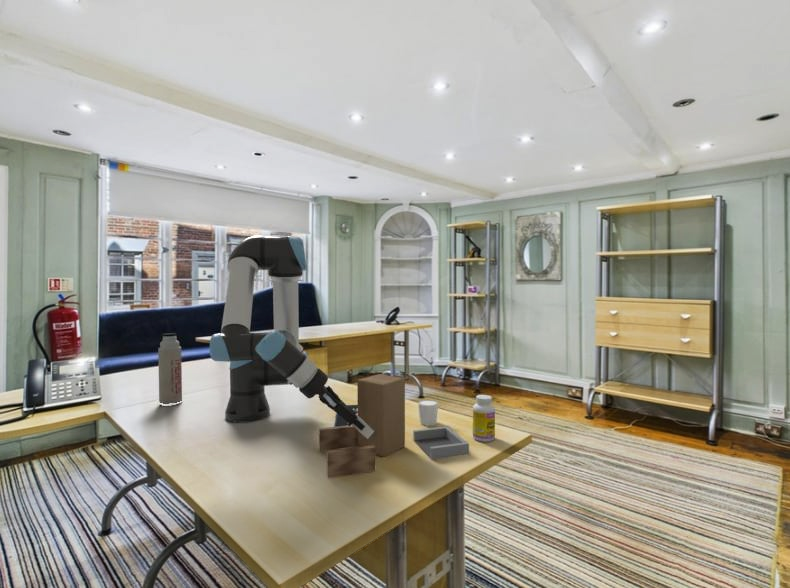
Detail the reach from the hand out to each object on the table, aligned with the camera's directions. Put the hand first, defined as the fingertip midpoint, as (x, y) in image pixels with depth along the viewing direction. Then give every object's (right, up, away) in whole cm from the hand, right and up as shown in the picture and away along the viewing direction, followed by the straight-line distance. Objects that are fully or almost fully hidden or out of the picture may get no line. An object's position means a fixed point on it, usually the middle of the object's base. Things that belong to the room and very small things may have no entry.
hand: (370, 434), depth 112 cm
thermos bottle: (-82, -5, +50) cm, 97 cm away
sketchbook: (-3, -6, +31) cm, 32 cm away
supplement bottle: (+34, -6, +13) cm, 37 cm away
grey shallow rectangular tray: (+19, -6, +6) cm, 21 cm away
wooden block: (+3, -6, +6) cm, 9 cm away
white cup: (+18, -6, +27) cm, 33 cm away
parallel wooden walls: (-7, -6, -2) cm, 9 cm away
